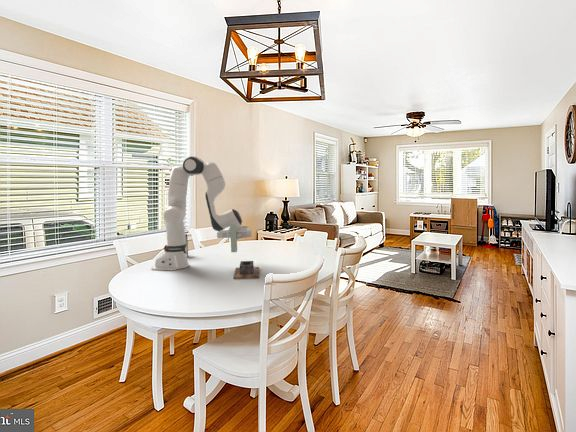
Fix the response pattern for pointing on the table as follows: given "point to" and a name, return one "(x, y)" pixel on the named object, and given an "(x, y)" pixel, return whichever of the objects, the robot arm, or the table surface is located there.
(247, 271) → the wooden base with socket
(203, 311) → the table surface
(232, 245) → the pale green block
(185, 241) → the coffee box
